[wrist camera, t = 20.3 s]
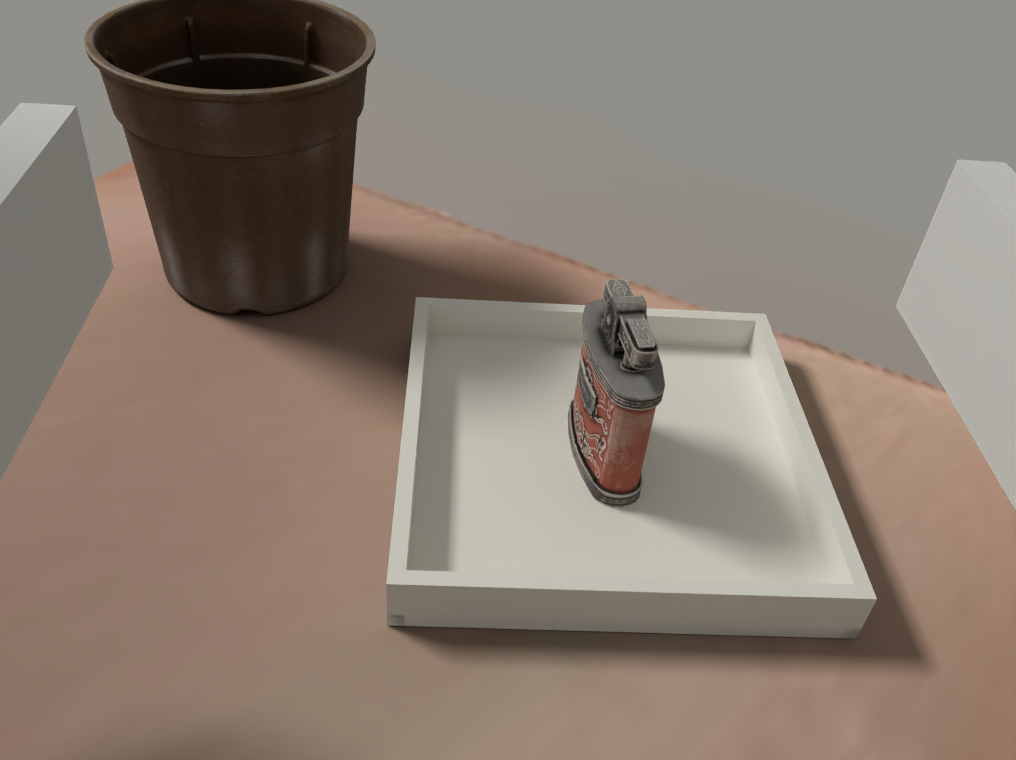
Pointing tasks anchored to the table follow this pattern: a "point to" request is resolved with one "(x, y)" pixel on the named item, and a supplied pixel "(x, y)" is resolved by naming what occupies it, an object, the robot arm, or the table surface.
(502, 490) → the tray
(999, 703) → the table surface
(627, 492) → the lighter
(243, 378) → the table surface
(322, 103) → the plant pot
